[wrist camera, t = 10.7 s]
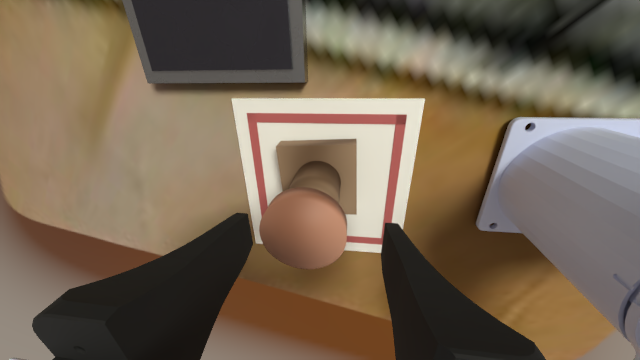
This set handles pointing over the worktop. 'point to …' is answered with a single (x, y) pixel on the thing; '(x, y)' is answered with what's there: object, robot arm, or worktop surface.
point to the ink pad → (220, 40)
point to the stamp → (311, 202)
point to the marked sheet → (335, 123)
